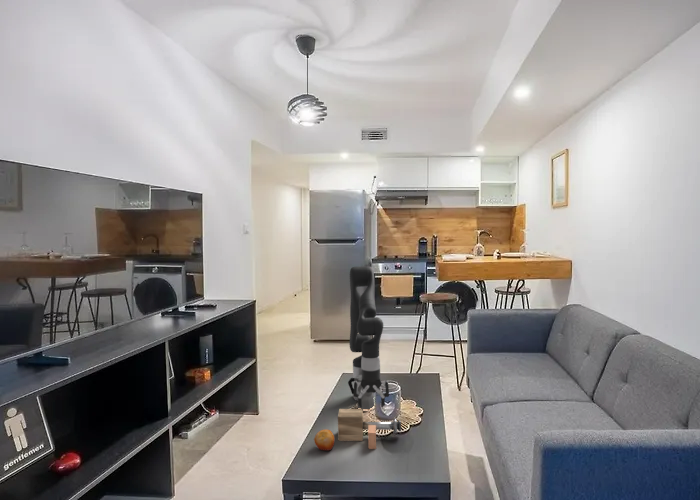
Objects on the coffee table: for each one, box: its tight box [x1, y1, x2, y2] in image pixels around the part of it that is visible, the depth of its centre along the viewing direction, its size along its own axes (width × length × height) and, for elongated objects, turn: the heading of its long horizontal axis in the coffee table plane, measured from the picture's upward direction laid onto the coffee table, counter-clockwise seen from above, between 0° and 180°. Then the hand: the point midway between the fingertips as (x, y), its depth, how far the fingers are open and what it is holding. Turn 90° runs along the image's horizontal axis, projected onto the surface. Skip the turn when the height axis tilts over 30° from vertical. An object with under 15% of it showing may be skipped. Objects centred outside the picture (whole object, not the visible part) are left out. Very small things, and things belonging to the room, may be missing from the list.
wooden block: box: [337, 408, 364, 442], centre depth 183 cm, size 8×10×10 cm
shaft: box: [362, 418, 402, 434], centre depth 182 cm, size 6×18×6 cm, turn 87°
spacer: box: [367, 425, 377, 450], centre depth 175 cm, size 7×3×6 cm, turn 177°
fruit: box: [313, 428, 335, 451], centre depth 174 cm, size 8×8×8 cm
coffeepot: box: [347, 375, 375, 409], centre depth 210 cm, size 15×9×18 cm, turn 107°
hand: (371, 406), depth 175 cm, fingers open, 8 cm apart
